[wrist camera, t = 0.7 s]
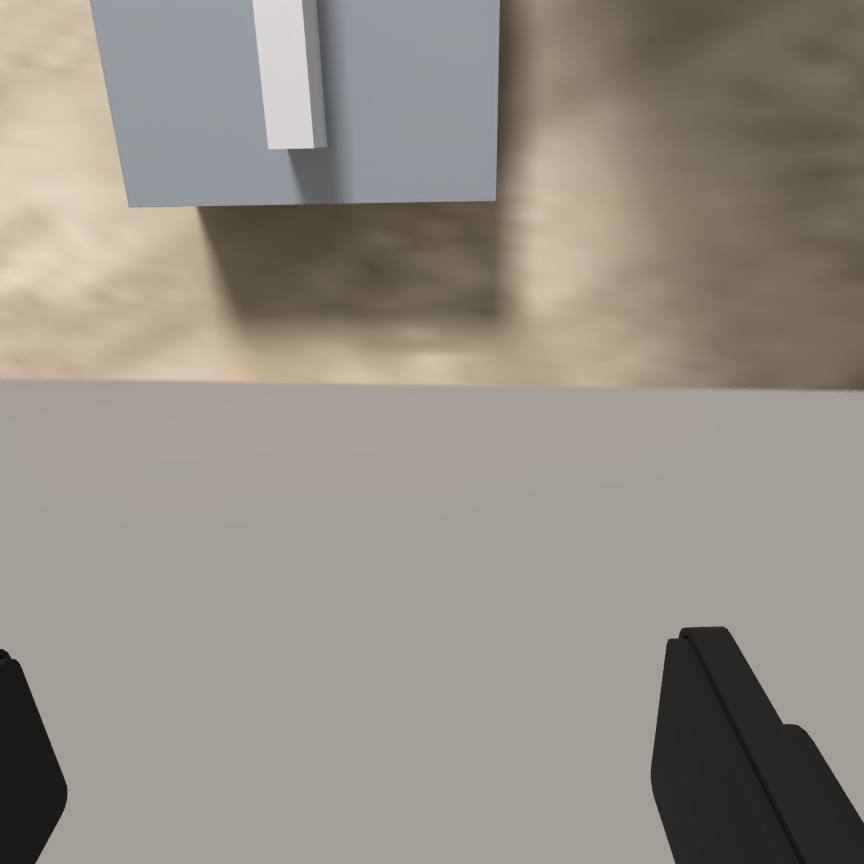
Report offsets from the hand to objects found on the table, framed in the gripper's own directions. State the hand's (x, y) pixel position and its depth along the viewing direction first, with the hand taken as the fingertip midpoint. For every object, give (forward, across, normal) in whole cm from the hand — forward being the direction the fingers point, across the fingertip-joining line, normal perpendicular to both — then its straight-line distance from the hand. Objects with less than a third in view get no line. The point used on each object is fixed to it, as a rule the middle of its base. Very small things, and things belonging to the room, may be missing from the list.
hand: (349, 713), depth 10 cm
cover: (+21, +3, -12) cm, 24 cm away
